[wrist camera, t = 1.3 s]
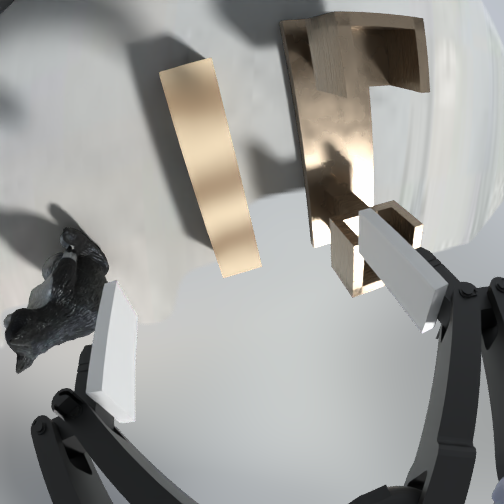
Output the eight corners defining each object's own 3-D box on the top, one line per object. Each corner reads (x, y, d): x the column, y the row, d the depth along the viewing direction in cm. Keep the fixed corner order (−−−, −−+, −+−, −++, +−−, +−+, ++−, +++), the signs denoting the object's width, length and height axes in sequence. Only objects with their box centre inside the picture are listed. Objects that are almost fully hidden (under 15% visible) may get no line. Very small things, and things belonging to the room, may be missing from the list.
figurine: (44, 205, 27) (-19, 302, 15) (127, 229, 31) (106, 340, 19) (38, 275, 31) (-1, 376, 19) (111, 295, 35) (97, 404, 23)
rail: (162, 71, 23) (158, 72, 19) (206, 59, 23) (211, 57, 19) (217, 250, 35) (223, 278, 31) (251, 240, 35) (261, 266, 31)
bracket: (278, 22, 22) (329, 4, 14) (354, 18, 23) (424, 12, 14) (311, 243, 37) (349, 302, 28) (368, 226, 37) (416, 276, 29)
